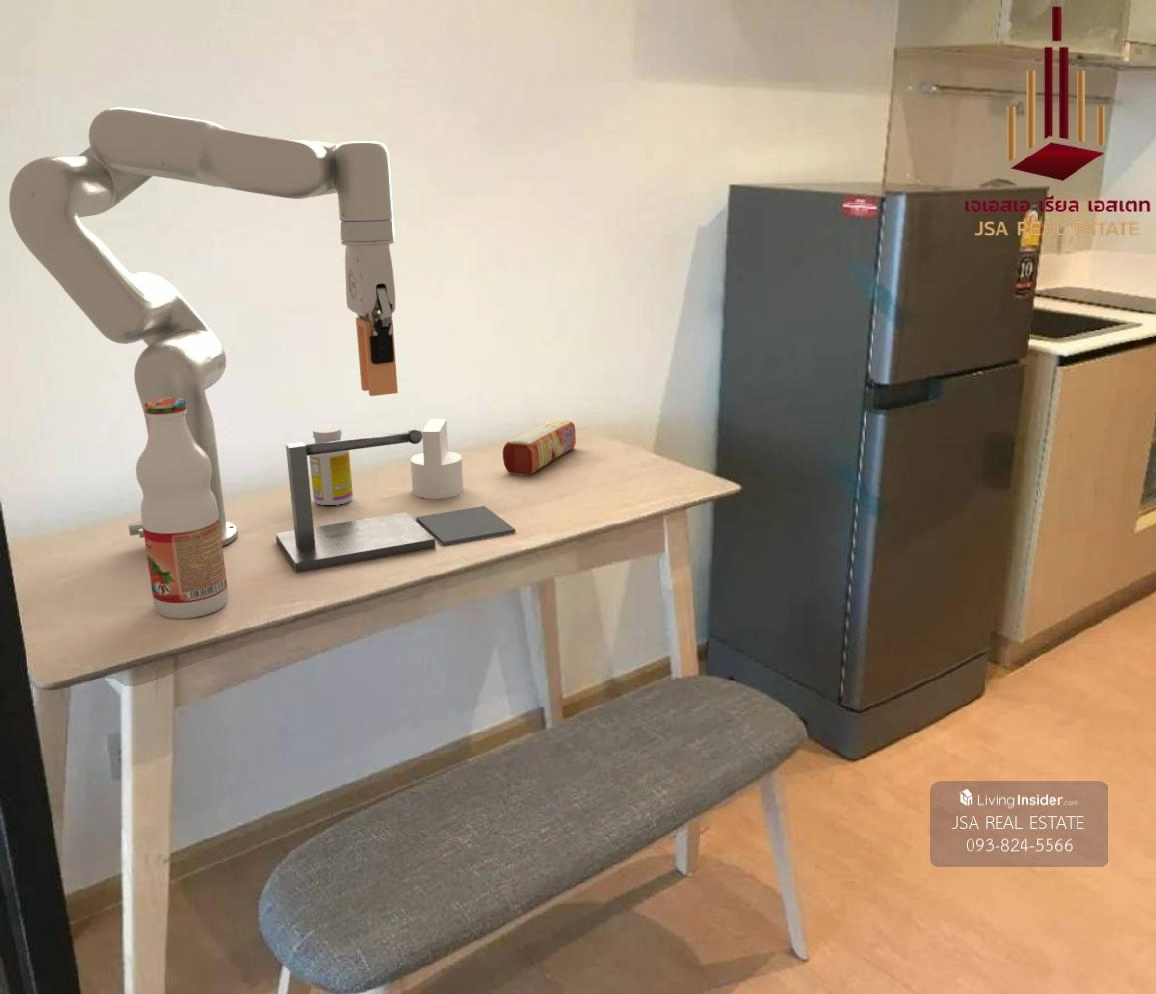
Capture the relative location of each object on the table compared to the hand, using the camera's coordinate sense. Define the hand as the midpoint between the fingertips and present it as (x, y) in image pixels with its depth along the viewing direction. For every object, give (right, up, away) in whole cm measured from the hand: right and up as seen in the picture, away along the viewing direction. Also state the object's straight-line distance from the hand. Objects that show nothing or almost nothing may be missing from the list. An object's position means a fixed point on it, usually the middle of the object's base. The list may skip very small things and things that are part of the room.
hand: (377, 358), depth 156 cm
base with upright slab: (+5, -20, +32) cm, 38 cm away
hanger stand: (-4, -28, +7) cm, 29 cm away
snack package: (+22, -14, +50) cm, 57 cm away
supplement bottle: (-13, -21, +27) cm, 37 cm away
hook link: (0, -5, +2) cm, 5 cm away
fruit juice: (-22, -35, -14) cm, 44 cm away
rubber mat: (+11, -25, +14) cm, 31 cm away
